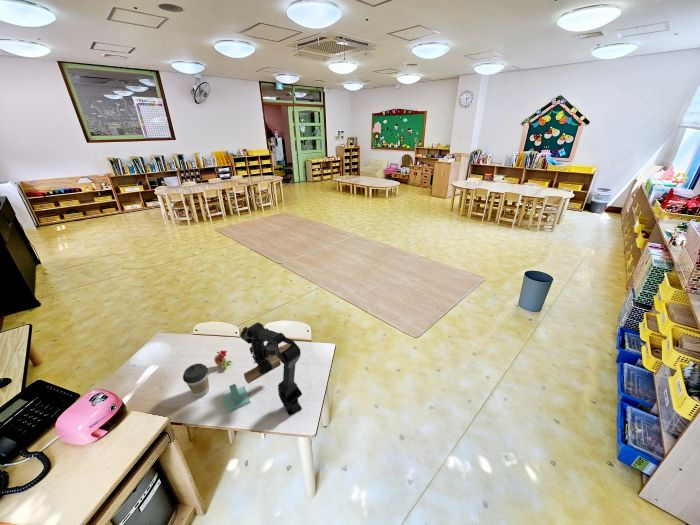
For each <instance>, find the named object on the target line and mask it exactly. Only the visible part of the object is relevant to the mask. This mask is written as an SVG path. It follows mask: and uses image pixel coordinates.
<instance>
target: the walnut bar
mask: <svg viewBox="0 0 700 525" xmlns="http://www.w3.org/2000/svg"><path fill="white" fill-rule="evenodd" d="M268 361H270V362H271V364H272V367H273V369H272V370H269V371H267V372H266V373H264V374H260V373H259V370H258V368H257V366H255V367H254V368H251V369H250V370H248V371H246V372H244V373H243V376H244V380H245V381H246V383H247V385H248V384H251V383H252V382H255V380H257V379H259V378H261V377H263V376H264V375H266V374H268V373H269V372H271V371H273V370H275V369H276V368H278V367H280V366H281V365H282V362H281V361H280V359H279V358H278V357H277V356H275V357H273V358H272V359H270V360H268Z"/></svg>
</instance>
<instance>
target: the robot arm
mask: <svg viewBox="0 0 700 525" xmlns="http://www.w3.org/2000/svg"><path fill="white" fill-rule="evenodd" d="M239 337H240V339H241V340H243V341H244V342H245V343H247V344H250V345H251V346H250V347H249V352H250V354H251V355H252V359H253V361H255V362H256V363H255V364H257V365H256V367H257V368H258V370H259V373H260V374H264V373H266V372H267V371H269V370H271V371H273V370H274V369H273V367H272V364H271V362H270V361H268V360H267V359H265V358H268V355H269V356H270V355H277V357H278V358H279V359H280V363H281V364H283V374H282V376H283V377H282V380H281V381H280V382H279V383H278V385H277V390H278V397H279V399H280V402H281V403H282V405H283V407H284V408H285V409H286V412H287V414H288V416H289V417H290V416H292V415H294V414H295V413H298V412H300V411H302V410H303V408H302V406H301V404H300V403H299V398H300V397H301V396H303V393H302V391H301V390H300V388H299V387H298V384H297V383H296V382H295V372H296V364H297V362H298V361H299V359H300V357H301V355H302V353H301V348H300V347H299V346H298V344H297V343H296V342H295V341H294V339H291V338H289V337H286V336H285V334H284V333H282V332H277V331H274V330H270V329H268V328H266V327H264V324H262V323H261V322H256V323H253V324H252V325H251V326H249V327H247V326H245V327H243V328H242V331H241V332H240V335H239ZM265 342H266V344H265ZM281 343H285V344H289V345H291V346H290V347H288V348H287V349H286V350H284V351H283V352H281V353H280V351H279V347H280V346H279V344H281ZM272 369H273V370H272ZM266 374H267V373H266ZM264 375H265V374H264Z"/></svg>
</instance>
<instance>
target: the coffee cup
mask: <svg viewBox="0 0 700 525" xmlns="http://www.w3.org/2000/svg"><path fill="white" fill-rule="evenodd" d="M208 373H209V369H208V367H207V366H206V365H205V364H203V363H193V364H192V365H190V366H188V367H186V369H185V370H184V373H183V375H182V379H183V381H184V383H186V385H187V387H189V389H190V391H191V393H192V394H193V395H194V396H195V397H196V398H202V397H205V396H206V395H207V394H208V393H209V391H210V383H209V375H208Z"/></svg>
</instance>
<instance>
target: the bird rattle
mask: <svg viewBox="0 0 700 525" xmlns="http://www.w3.org/2000/svg"><path fill="white" fill-rule="evenodd" d="M227 352H228V350H222V349H221V350H220V352H219V351H217V352H216V353H217V355H215V357H214V358H213V359H214V363H215V365H216V366H217V367H224V369H225V370H226V369H227V370H228V364H229V363H232V360H227V358H226V357H227Z"/></svg>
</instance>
